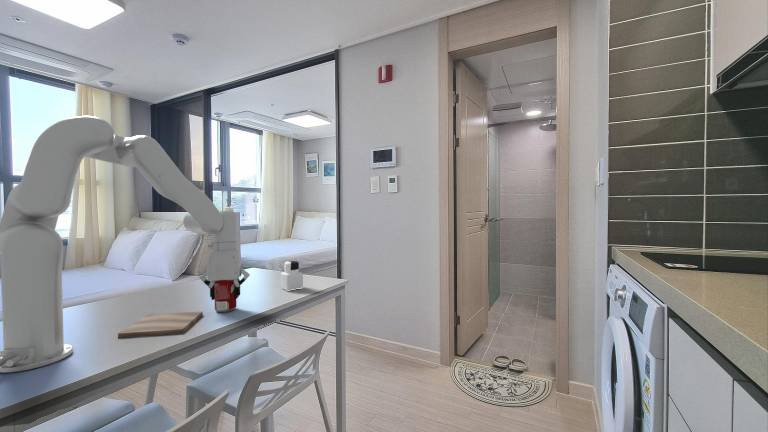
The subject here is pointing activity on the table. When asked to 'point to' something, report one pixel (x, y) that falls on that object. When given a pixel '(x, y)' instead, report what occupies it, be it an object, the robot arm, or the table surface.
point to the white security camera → (291, 276)
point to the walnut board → (161, 324)
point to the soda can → (224, 295)
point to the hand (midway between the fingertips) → (225, 297)
